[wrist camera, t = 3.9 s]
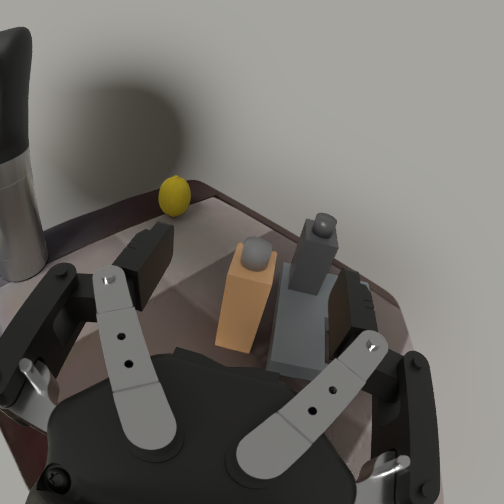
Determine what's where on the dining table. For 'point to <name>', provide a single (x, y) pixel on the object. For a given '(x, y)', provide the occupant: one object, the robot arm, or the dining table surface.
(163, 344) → the dining table surface
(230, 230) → the dining table surface
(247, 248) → the plug
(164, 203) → the lemon
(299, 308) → the gray post stand
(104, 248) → the dining table surface
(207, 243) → the dining table surface
